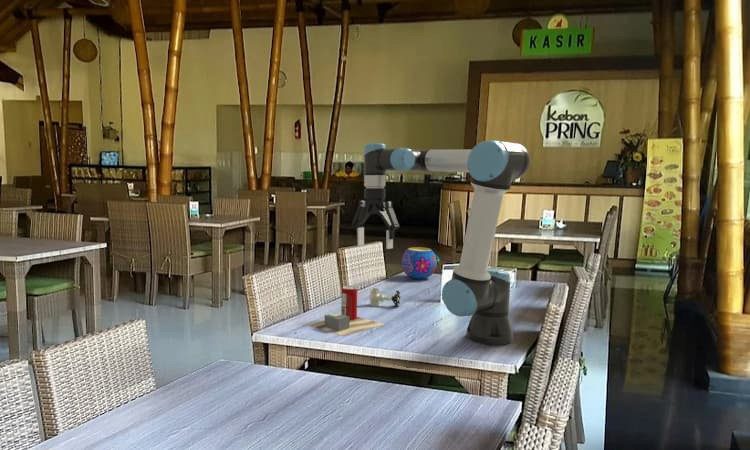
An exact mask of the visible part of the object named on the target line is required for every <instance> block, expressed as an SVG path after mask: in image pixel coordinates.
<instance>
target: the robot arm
mask: <svg viewBox="0 0 750 450" xmlns="http://www.w3.org/2000/svg"><path fill="white" fill-rule="evenodd" d="M363 157H364V160H363V161H364V162H363V163H364V166H363V167H364V175H363V176H364V183H363V186H364V187H365V188H364V190H363V191H364V192H363V193H364V194H363V195H364V199H365V200H359V201H358V205H357V208H356V210H355V214H354V216H353V219H352V222H351V226H354V227H355V228H356V230H355V232H356V234H355V235H356V237H357V247H361V246H365V227H364V224H365V223H366V222H367V220H368V219H369V217H370V216H371V215H372V214H373V215H374V214H375V215H378V216H380V218H381V220H382V221H383V223H384V225H385V226H386V228H387V230H386V231H385V232H386V233H385V234H386V235H385V236H386V247H385V248H386V250H390V249H394V240H395V230H396V229H397V230H398V229H399V228H400V224H399V222H398V219H397V216H396V213H395V211H394V208H393V202H392V201H385V199H386V196H387V195H386V193H387V192H386V188H385V187H386V173H387V172H386V171H396V172H397V171H398V172H405V171H407V172H410V171H411V172H412V171H414V172H415V171H416V172H444V173H445V172H447V173H448V172H450V173H451V172H453V173H469V175H470V176H471V179H470V184H471V186H472V187H473V189H474V190H473V193H472V194H473V195H472V200H471V204H470V205H471V206H470V210H469V215H468V222H467V225H466V230H465V231H466V232H465V234H464V236H465V237H464V241H463V247H462V251H461V256H460V260H459V261H460V262H459V264H458V265H457V266H455V267H454V268H453V269H452V275H451V279H449V280H448V281H447V282H446V283H444V285H443V287H442V290H441V299H442V303H443V304H444V306H445V307H446V309H447V310H448V312H450V313H451V314H452V315H455V316H457V317H470V316H471V317H470V320H469V322H468V325H467V327H466V334H465V335H466V339H468V340H470V341H471V342H473V343H474V342H475V343H477V344H482V345H489V346H490V345H492V346H500V345H507V344H510V343H512V342H513V341H514V331H513V328H512V325H511V322H510V316H509V313H510V312H509V311H510V295H511V294H510V292H511V283H512V282H511V275H510V273H509V272H508V271H505V270H500V269H493V268H488V267H489V264H490V259H491V254H492V251H493V250H492V249H493V246H494V240H495V235H496V231H497V226H498V220H499V216H500V212H501V207H502V203H503V197H504V195H505V194H506V193H507V192H509V191H510V190H511V185H512V181H516V180H518V179H520V178H522V177H523V176H525V175H526V173H528V170H529V169H530V165H531V156H530V153H529V151H528V149H527V148H526V147H525V146H524V145H522V144H520V143H518V142H515V141H502V140H495V139H492V140H491V139H490V140H485V141H481V142H479V143H477V144H476V145H475V146H473V148H472V149H413V148H407V147H398V148H386V144H384V143H375V142H374V143H366V144H365V146H364V154H363Z"/></svg>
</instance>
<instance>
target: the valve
mask: <svg viewBox="0 0 750 450" xmlns="http://www.w3.org/2000/svg"><path fill="white" fill-rule="evenodd" d="M369 293H370V294H369V305H370V306H372V307H378V306H380V302H384V301H392V303H393V304H394V307H396V308H399V307H400V304H401V303H400V302H401V301H400V299H401V296H400V294H401V292H400V290H396V291H395V294H394V295H385V294H384V293H381V294H380V289H379V288H376V287H375V288H373V287H372V288H370V290H369Z"/></svg>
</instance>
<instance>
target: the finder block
mask: <svg viewBox="0 0 750 450" xmlns="http://www.w3.org/2000/svg"><path fill="white" fill-rule="evenodd" d="M324 320H325V323H324V327H327V328H330V329H333V330H337V331H341V330H345V329H348V328H349V323H350V317H349V316H345V315H342V314H341V313H338V312H332V313H329V314H324Z"/></svg>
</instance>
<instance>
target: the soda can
mask: <svg viewBox="0 0 750 450" xmlns="http://www.w3.org/2000/svg"><path fill="white" fill-rule="evenodd" d="M340 314H342V315H345V316H349V317H350V321H355V320H356V319H357V317H358V290H357V286H355V285H344V286H342V289H341V312H340Z"/></svg>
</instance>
